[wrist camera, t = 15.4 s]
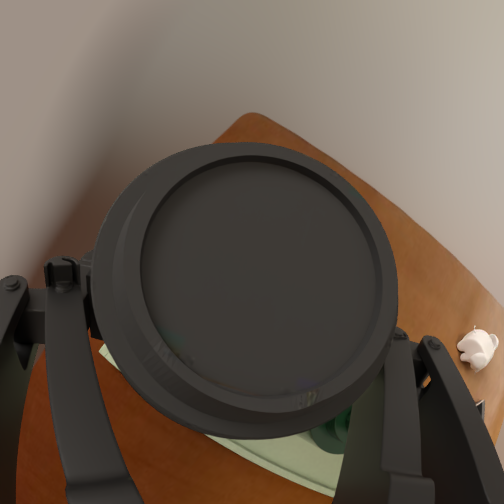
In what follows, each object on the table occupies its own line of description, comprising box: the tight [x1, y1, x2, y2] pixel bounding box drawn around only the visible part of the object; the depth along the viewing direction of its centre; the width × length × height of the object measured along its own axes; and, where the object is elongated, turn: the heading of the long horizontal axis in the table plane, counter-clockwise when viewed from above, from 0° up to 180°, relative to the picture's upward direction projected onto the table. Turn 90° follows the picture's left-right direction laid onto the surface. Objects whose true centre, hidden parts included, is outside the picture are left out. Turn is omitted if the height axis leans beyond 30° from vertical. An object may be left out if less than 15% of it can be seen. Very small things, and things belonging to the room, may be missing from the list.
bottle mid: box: [296, 405, 352, 455], centre depth 20 cm, size 6×6×14 cm
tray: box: [99, 344, 344, 498], centre depth 26 cm, size 38×16×2 cm, turn 54°
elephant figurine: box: [457, 326, 498, 372], centre depth 32 cm, size 7×8×6 cm
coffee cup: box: [91, 142, 398, 440], centre depth 13 cm, size 9×9×15 cm
